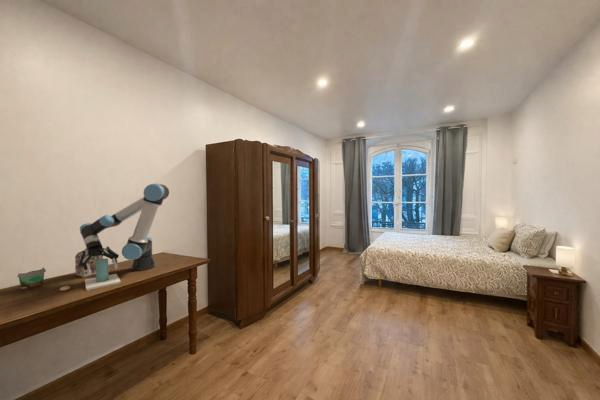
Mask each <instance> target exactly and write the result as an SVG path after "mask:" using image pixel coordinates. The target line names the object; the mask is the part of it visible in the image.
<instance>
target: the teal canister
mask: <svg viewBox="0 0 600 400" xmlns="http://www.w3.org/2000/svg"><path fill="white" fill-rule="evenodd" d="M108 275H109V258H103V259H99V260H96V274H95V278H96V282H103V281H107V280H109V276H108Z"/></svg>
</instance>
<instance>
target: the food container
mask: <svg viewBox="0 0 600 400" xmlns="http://www.w3.org/2000/svg"><path fill="white" fill-rule="evenodd" d="M45 272H47V271H46V269H45V267H42V268H41V269H37V270H30V271H28V272H24V273H18V274H17V275H16V276H17V277H16V278H18V282H19V286H20V290H21V291H24V290H25V291H27V290H28V291H29V290H32V289H37V288H40V287H42V286H44V280H45Z"/></svg>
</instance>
